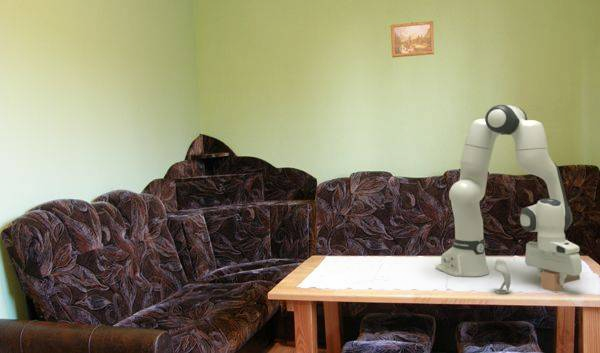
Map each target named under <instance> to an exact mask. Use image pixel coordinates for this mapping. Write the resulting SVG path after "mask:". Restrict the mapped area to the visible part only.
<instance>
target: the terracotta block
mask: <svg viewBox="0 0 600 353" xmlns="http://www.w3.org/2000/svg"><path fill="white" fill-rule="evenodd" d="M560 277H561V276H560V273H559V272H554V271H550V270H547V271H542V272H541V276H540V280H541V281H540V282H541V285H540V286H541V289H543V290H547V291H551V292H557V291H560V290H564V285H559V284H557V279H560Z"/></svg>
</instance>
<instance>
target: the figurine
mask: <svg viewBox="0 0 600 353" xmlns="http://www.w3.org/2000/svg"><path fill="white" fill-rule="evenodd" d="M493 269H494V272H497V273H499V274H501V275H502V276H503V280H504V281H503V283H502V284H501V286H500V287H499V289H496V294H508V291H509V290H510V288H511V280H512V279H511V278H512V277H511V272H510V268H509V267H508V265H507V263H506V260H505V259H502V258H497V259H496V261H495V264H494V266H493ZM504 287H506V288H505V289H504Z"/></svg>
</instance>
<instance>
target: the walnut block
mask: <svg viewBox="0 0 600 353" xmlns="http://www.w3.org/2000/svg"><path fill="white" fill-rule="evenodd" d="M544 271H547V270H544ZM580 275H581V273H580V274H579V275H575V276H573V275H568V274H567V276H566V278H565V279H564V284H566V283H570V282H574V281H577V280H581V279H580V278H581V276H580Z"/></svg>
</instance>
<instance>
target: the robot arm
mask: <svg viewBox="0 0 600 353" xmlns="http://www.w3.org/2000/svg"><path fill="white" fill-rule="evenodd" d="M500 135H508V136H509V135H510V136H511V137H512V138H513V141H514V150H515V151H514V152H515V153H514V154H515V161H516V165H517V166H518V167H519V168H520V169H521V170H522V171H523V172H525V173H527V174H528V175H529V174H530V175H533V176H535V177H539V178H540V179H541V180H543V181H544V182H545V184H546V187H547V191H548V196H549V198H541V199H539V200H538V201H537V203H536V204H535V203H534V204H533V205H529V206H526V207H524V208H522V209H521V212H520V214H519V224H520V226H521V228H523V229H524V230H525V231H527V232H530V233H534V232H537V241H532V240H531V241H528V242H527V243H525V244H526V245H525V257H524V263H525V265H526V266H527V267H532V268H537V272H538V274H539V276H540V277H541V272H542V271H544V270H550V271H554V272H559V273H560V276H561V277H560V279H557V284H559V285H563V286H564V285H565V283H564V279H565V278H566V276H567V274H568V275H573V276H575V275H579V274H580V275H581V274H582V271H583V269H582V267H583V266H582V265H583V264H582V257H581V255H580V253H579V252H580V251H581V250H580V246H579V245H577V244H575V243H574V242H571V241H569V240H568V239H566V234H565V231H566V230H568V228H569V227H570V226H571V224H572V223H573V213H572V211H571V209H570V206H569V204H568V200H567V196H566V192H565V187H564V184H563V179H562V176H561V172H560V169H559V167H558V165H557V164H556V163H555V162H554V161H553V159H552V158H551V157H550V154H549V149H548V148H549V147H548V141H547V140H548V139H547V135H546V131H545V128H544V125H543V123H542V122H540V121H538V120H535V119H528V116H527V113H526V112H525V110H523V109H522V108H520V107H518V106H514V105H510V104H498V105H494V106H492V107H491V108H489V109H488V110H487V112H486V113H485V117H484V118H478V119H475V120H474V121H472V123H471V125H470V127H469V129H468V131H467V134H466V138H465V140H464V145H463V150H462V154H461V158H460V169H459V170H460V172H459V178H458V181H456V182H454V183H453V184H452V186H451V187H450V189H449V191H448V198H449V200H450V201H451V202H450V204H451V209H452V213H453V214H452V215H453V218H454V219H453V221H454V236H455V237H454V238H453V239H451V240H450V243H452V246H451V247H450V248H449V249H447V250H446V251H445V252H443V254H442V255H441V256H440V263H439V264H437V265H435V269H436V270H439V271H441V272H444V273H445V274H448V275H450V276H454V277H481V276H487V275H488V274H490V271H489V267H488V263H487V258H486V257H487V256H486V252H485V251H486V250H485V248H486V240H485V238H484V219H483V216H482V211H481V207H480V201H482V200H483V198H484V197H485V193H486V188H487V183H488V174H489V167H490V162H491V159H492V154H493V150H494V146H495V142H496V139H497V138H498V136H500Z"/></svg>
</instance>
